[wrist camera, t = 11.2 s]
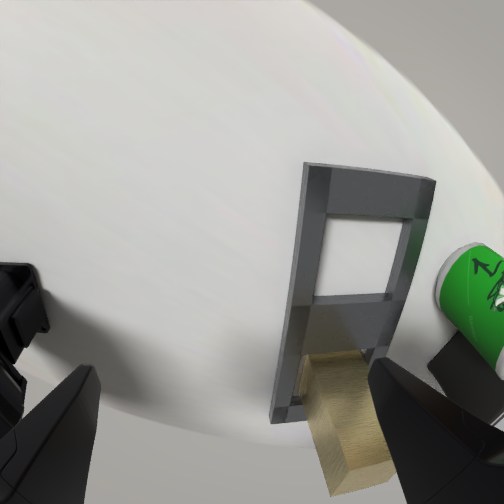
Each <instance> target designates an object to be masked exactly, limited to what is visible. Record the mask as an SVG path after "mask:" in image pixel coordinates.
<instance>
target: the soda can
mask: <svg viewBox="0 0 504 504" xmlns="http://www.w3.org/2000/svg"><path fill="white" fill-rule="evenodd" d="M435 296H436V302H437V306H438V307H439V308H440V310H441V311H442V312H443V313H444V314H445V315H446V316H447V318H448V319H449V320H450V321H451V322H452V323H453V324H454V325H455V326H456V327H457V328H458V330H459V331H460V332H461V333H462V334H463V335H464V336H465V337H466V338H467V340H468V341H469V342H470V343H471V344H472V345H473V346H474V348H475V349H476V350H477V351H478V352H479V353H480V355H481V356H482V357H483V358H484V359H485V360H486V362H487V363H488V364H489V365H490V366H491V368H492V369H493V370H494V371H495V372H496V374H497V375H498V376H499V377H500V379H501V380H504V258H503V257H502V256H500V255H499V254H497V253H496V252H494V251H493V250H492V249H490V248H489V247H487V246H486V245H484V244H482V243H472V244H469V245H466V246H464V247H462V248H459V249H458V250H456V251H455V252H453V253H452V254H451V255H450V256H449V258H448V259H447V260H446V261H445V263H444V264H443V266H442V268H441V269H440V272H439V275H438V278H437V285H436V295H435Z"/></svg>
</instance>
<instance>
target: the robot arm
mask: <svg viewBox="0 0 504 504" xmlns="http://www.w3.org/2000/svg"><path fill="white" fill-rule="evenodd" d="M26 269H27V270H28V271H27V270H26ZM44 327H45V328H44ZM49 329H50V326H49V323H48V320H47V317H46V313H45V309H44V306H43V303H42V300H41V296H40V293H39V290H38V287H37V283H36V279H35V276H34V272H33V268H32V266H31V265H30V264H29V263H8V262H0V504H84V498H85V491H86V485H87V478H88V472H89V466H90V461H91V455H92V450H93V445H94V440H95V434H96V429H97V428H96V427H97V418H98V408H99V399H100V391H101V385H100V381H99V378H98V375H97V372H96V370H95V367H94V366H93V365H88V364H81V365H80V366H78V367H77V368H76V369H75V370H74V371H73V372H72V373H71V374H70V375H69V376H68V377H67V378H65V379H64V380H63V381H62V382H61V383H60V384H59V385H58V386H57V387H56V388H55V389H54V390H53V391H51V393H49V394H48V395H47V396H46V397H45V398H44V399H43V400H42V401H41V402H40V403H39V404H38V405H37V406H36V407H35V408H34V409H32V411H30V412H29V413H28V414H27V415H26V416H25V417H24V418H23V419H22V416H23V413H24V399H25V392H26V384H27V380H26V379H25V378H24V377H23V376H21V375H20V373H19V372H18V371H17V370H16V368H15V367H14V366H13V364H15V363H16V361H17V359H18V358H19V356H20V354H21V352H22V351H23V349H24V348H27V347H28V346H29V344H30V343H31V341H32V339H33V338H34V336H35V334H36V333H37V332H38V333H48V331H49ZM367 380H368V385H369V388H370V392H371V396H372V400H373V404H374V408H375V412H376V415H377V419H378V422H379V424H380V427H381V430H382V433H383V435H384V438H385V441H386V443H387V446H388V449H389V452H390V455H391V457H392V460H393V463H394V466H395V469H396V472H397V474H398V478H399V480H400V483H401V486H402V489H403V492H404V495H405V498H406V502H407V504H504V432H503V431H501V430H499V429H498V428H496V427H494V426H492V425H490V424H488V423H486V422H485V421H483V420H481V419H479V418H478V417H476V416H474V415H473V414H471V413H470V412H468V411H467V410H465V409H464V408H461V407H460V406H459V405H458V404H456V403H454V402H453V401H451V400H450V399H448V398H447V397H445V396H444V395H442V394H441V393H439V392H438V391H436V390H435V389H433V388H432V387H431V386H429V385H428V384H426V383H425V382H423V381H422V380H420V379H419V378H417V377H416V376H414V375H413V374H411V373H410V372H408V371H407V370H405V369H404V368H402V367H401V366H399V365H398V364H396V363H395V362H393V361H392V360H390V359H389V358H387V357H380V358H375V359H374V361H373V363H372V366H371V368H370V371H369V373H368V377H367Z"/></svg>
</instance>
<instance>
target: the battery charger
mask: <svg viewBox="0 0 504 504" xmlns="http://www.w3.org/2000/svg"><path fill="white" fill-rule="evenodd" d="M428 369H429V371H430V372H431V373H432V374H433V376H434V377H435V379H436V380H437V382H438V383H439V384H440V386H441V388H442V389H443V391H444V393H445V395H446V396H447V398H448V399H450V400H451V401H453V402H454V403H456V404H458V405H459V406H460V407H461V408H464V409H465V410H467V411H468V412H470V413H471V414H473V415H474V416H476V417H478V418H479V419H481V420H483V421H485V422H486V423H488V424H490V425H492V426H495V425H496V424H497V423H498V422H499V421H500V420H501V419H503V418H504V380H501V379H500V377H499V376H498V375H497V374H496V372H495V371H494V370H493V369H492V368H491V366H490V365H489V364H488V363H487V362H486V360H485V359H484V358H483V357H482V356H481V355H480V353H479V352H478V351H477V350H476V349H475V348H474V346H473V345H472V344H471V343H470V342H469V341H468V340H467V338H466V337H465V336H464V335H463V334H462V333H461V332H460V331H459V332H458V333H457V334H456V335H455V336H454V337H453V338H452V339H451V340H450V342H449V343H448V344H447V345H446V346H445V347H444V348H443V349H442V350H441V352H440V353H439V354H438V355H437V356H436V357H435V358H434V359H433V361H432V362H431V363H430V364H429V365H428Z"/></svg>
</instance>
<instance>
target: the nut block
mask: <svg viewBox="0 0 504 504" xmlns="http://www.w3.org/2000/svg"><path fill="white" fill-rule="evenodd" d="M369 371H370V369H369V367H368V365H367V363H366V361H365V360H364V358H363V356H362V354H361V352H360V351H359V350H351V351H342V352H332V353H322V354H310V355H306V359H305V363H304V368H303V372H302V376H301V380H300V384H299V388H298V391H299V394H300V397H301V400H302V404H303V407H304V410H305V414H306V417H307V420H308V424H309V427H310V430H311V434H312V437H313V440H314V444H315V447H316V450H317V453H318V456H319V460H320V463H321V467H322V470H323V473H324V477H325V480H326V484H327V487H328V490H329V493H330V497H332V496H336V495H340V494H345V493H349V492H353V491H356V490H360V489H364V488H367V487H371V486H375V485H378V484H381V483H384V482H387V481H388V480H389V479H390V478H391V477H392V476H393V475H394V474H395V473H396V469H395V466H394V463H393V460H392V457H391V455H390V452H389V449H388V446H387V443H386V441H385V438H384V435H383V433H382V430H381V427H380V424H379V422H378V419H377V415H376V412H375V408H374V404H373V400H372V396H371V392H370V388H369V385H368V380H367V377H368V373H369Z"/></svg>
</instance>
